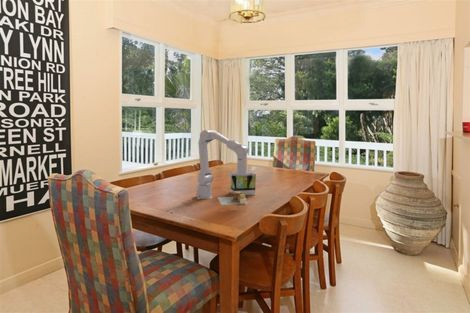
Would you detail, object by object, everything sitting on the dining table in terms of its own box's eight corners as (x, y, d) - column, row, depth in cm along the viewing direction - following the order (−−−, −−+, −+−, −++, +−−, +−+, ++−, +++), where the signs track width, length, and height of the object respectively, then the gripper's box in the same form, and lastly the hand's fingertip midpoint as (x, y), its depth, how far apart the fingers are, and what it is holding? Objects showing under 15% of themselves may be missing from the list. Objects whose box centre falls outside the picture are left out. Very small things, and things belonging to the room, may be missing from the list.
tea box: (234, 196, 208) (234, 174, 206) (230, 193, 218) (230, 172, 216) (255, 195, 212) (255, 173, 210) (250, 191, 222) (251, 171, 220)
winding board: (221, 205, 186) (221, 196, 185) (217, 198, 203) (217, 189, 203) (247, 204, 189) (247, 195, 188) (241, 197, 206) (241, 188, 205)
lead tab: (239, 201, 192) (239, 193, 192) (244, 201, 193) (244, 193, 192) (240, 203, 189) (240, 195, 189) (245, 203, 190) (245, 194, 189)
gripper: (231, 167, 184) (231, 189, 185) (255, 166, 186) (255, 189, 188) (229, 165, 191) (229, 187, 192) (252, 164, 193) (252, 186, 195)
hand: (241, 188), depth 191 cm, fingers open, 7 cm apart
